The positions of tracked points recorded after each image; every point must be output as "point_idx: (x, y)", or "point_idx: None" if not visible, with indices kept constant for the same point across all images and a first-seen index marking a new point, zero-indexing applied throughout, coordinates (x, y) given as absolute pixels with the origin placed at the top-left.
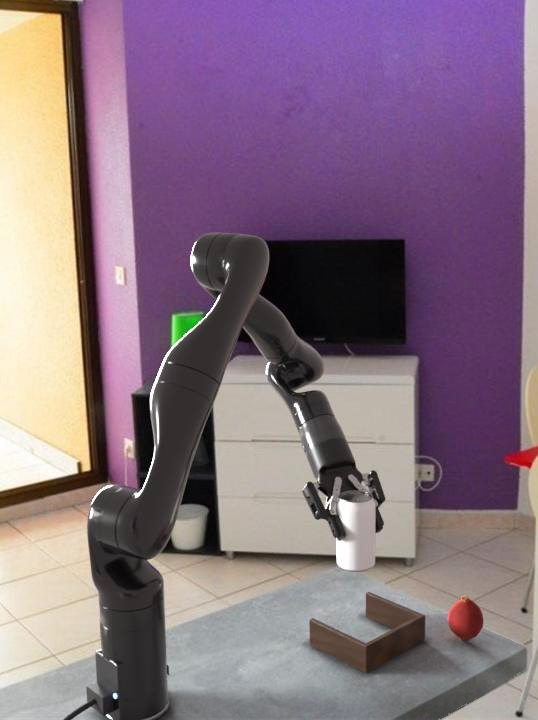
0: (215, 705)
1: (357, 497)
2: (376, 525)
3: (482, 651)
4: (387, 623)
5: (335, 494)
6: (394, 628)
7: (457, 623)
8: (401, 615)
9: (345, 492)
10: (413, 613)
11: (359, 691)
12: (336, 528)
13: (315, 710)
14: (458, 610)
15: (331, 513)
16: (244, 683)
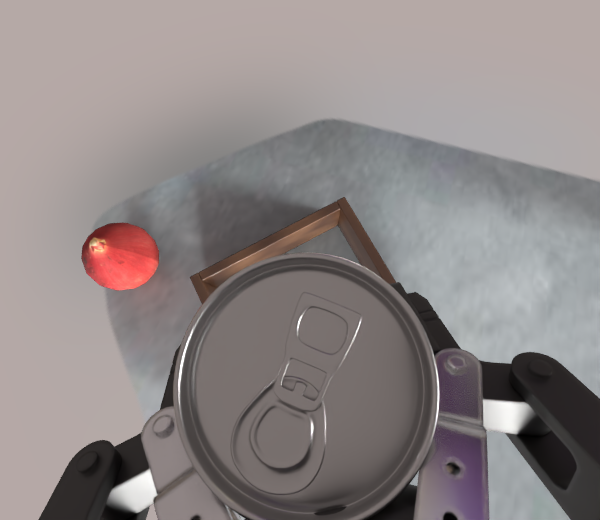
0: (593, 194)
1: (289, 386)
2: None
3: None
4: None
5: (459, 469)
6: (269, 244)
7: (147, 235)
8: None
9: (354, 513)
10: (207, 293)
11: (366, 173)
12: (424, 311)
13: (443, 145)
14: (128, 239)
15: (467, 355)
16: (542, 241)
